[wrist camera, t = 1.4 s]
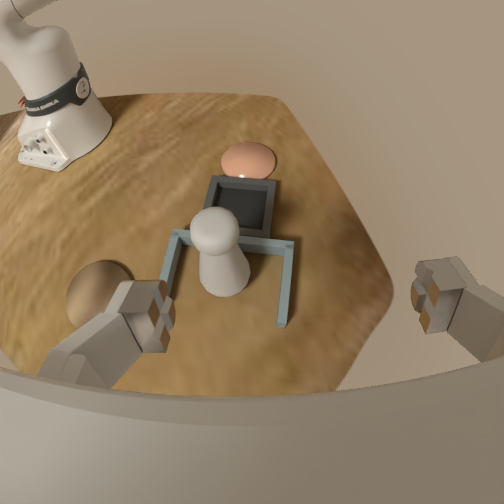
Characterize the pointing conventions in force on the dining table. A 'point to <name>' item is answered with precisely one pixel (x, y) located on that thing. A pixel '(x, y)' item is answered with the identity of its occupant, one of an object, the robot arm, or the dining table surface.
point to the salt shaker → (219, 252)
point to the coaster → (248, 161)
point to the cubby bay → (246, 245)
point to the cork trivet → (93, 291)
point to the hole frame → (244, 202)
